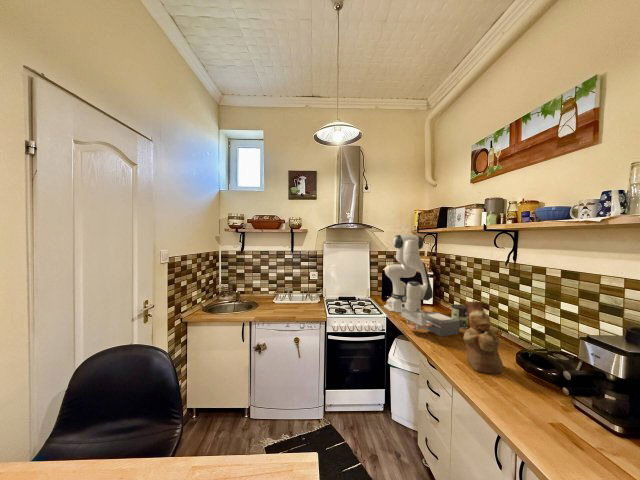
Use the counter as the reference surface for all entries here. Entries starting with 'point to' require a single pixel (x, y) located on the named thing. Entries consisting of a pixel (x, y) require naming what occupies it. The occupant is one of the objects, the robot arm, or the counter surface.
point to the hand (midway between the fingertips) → (412, 328)
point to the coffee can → (460, 315)
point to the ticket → (420, 326)
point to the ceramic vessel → (481, 341)
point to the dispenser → (442, 324)
